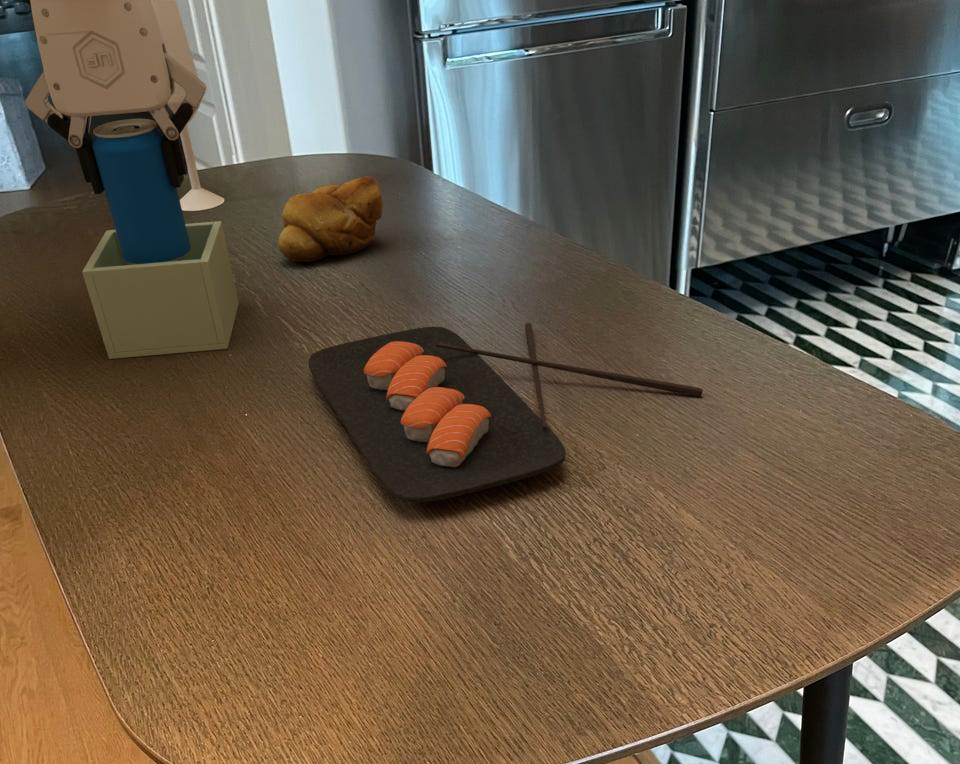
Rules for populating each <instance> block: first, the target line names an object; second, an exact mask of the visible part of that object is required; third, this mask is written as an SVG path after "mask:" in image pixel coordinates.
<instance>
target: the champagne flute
mask: <svg viewBox="0 0 960 764" xmlns="http://www.w3.org/2000/svg"><path fill="white" fill-rule="evenodd" d="M151 2H152V5H153V8H154V11H155V14H156V17H157V20H158V23H159V26H160V30H161V33H162V36H163V40H164V43H165V46H166V50H167V53H168V55H169V56H170V57H172V58H173V59H174V60H176V61H177V62H178V63H179V64H181V65H182V66H183V67H184V68H186V69H187V70H188V71H189V72H191V73H192V74H193V75H194V76H196V77H197V78H198V79H200V78H199V74H198V71H197V69H196V65H195V61H194V58H193V55H192V52H191V51H192V50H191V47H190V45H189V41H188V37H187V34H186V30H185V27H184V24H183V20H182V17H181V13H180V9H179V6H178V3H177V0H151ZM174 85H175V89H174V93H173V94H172V95H171V96H170V99H169V100H168V103H169V105H170V106H171V108H172V109H173V111H174V112H175V113H176V111H177V110H178V108H179V106H180V105H181V103H182V102H183V100H184V98H185V96H186V92H185V90H184V89H183V88H182V87H181V86H180V85H178V84H177V83H176V82H175V81H174ZM202 101H203V98H202V99H201V101H200V103H199V104H198V106H197V108H196V109H195V111H194V113H193V114H192V116H191V118H190V119H189V121H188V122H187V124H186V126H185V127H184V129H183V130H182V132H181V133H180V136H181V140H182V145H183V149H184V154H185V158H186V162H187V167H188V173H187V174H188V178H189V182H190V186H191V189H190V190H189V191H187V192H186V194H184V196H182V197H181V198H179V200H180V204H181V208H182V212H183V211H184V212H185V211H186V212H196V211H205V210H210V209H213V208H217V207H218V206H221V205H222V204H224V202H225V198H224V197H222V196H220V195H218V194H216V193H213V192H212V191H210V190H207V189H206V188H203V187H202V186H201V183H200V178H199V173H198V169H197V164H196V159H195V155H194V149H193V145H192V142H191V141H192V140H191V137H190V131H189V126H188V124H189V123H190V122H191V121H192V120H193V118H194V117H195V115H196V114H197V113H198V111H199V109H200V106H201V103H202Z"/></svg>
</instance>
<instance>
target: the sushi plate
mask: <svg viewBox="0 0 960 764" xmlns="http://www.w3.org/2000/svg"><path fill="white" fill-rule="evenodd" d="M524 327H525V330H524V331H525V334H526V335H525V336H526V341H527V346H528V352H529V356H530V358H528V357H527V358H526V357H522V356H516V355H510V354H505V353H499V352H493V351H487V350H481V349H476V348H472V346H470V345H469V343H467V342H466V341H465V340H464V339H463V338H462V337H461V336H460V335H458V333H456V332H454V331H453V330H451V329H449V328H446V327H442V326H423V327H417V328H411V329H405V330H401V331H396V332H395V331H394V332H390V333H386V334H381V335H377V336H372V337H367V338H363V339H358V340H353V341H349V342H345V343H340V344H336V345H333V346H332V345H331V346H329V347H325V348H322V349H320V350H317V351H316V352H314V353H312V354H311V355H310V356H309V358H308V368H309V371H310V373H311V375H312V377H313V379H314V380H315V382H316V384H317V385H318V387H319V388H320V390H321V391H322V393H323V395H324V396H325V398H326V399H327V401H328V402H329V404H330V406H331V408H332V409H333V410H334V412H335V414H336V415H337V417H338V418H339V420H340V421H341V423H342V425H343V427H345V429H346V431H347V433H348V434H349V436H350V438H351V439H352V440H353V442H354V443H355V445H356V446H357V448H358V450H359V451H360V453H361V455H362V456H363V458H364V459H365V461H366V462H367V464H368V465H369V467H370V469H371V470H372V472H373V473H374V475H375V476H376V478H377V479H378V480H379V482H380V483H381V485H382V486H383V487H384V488H385V489H386V490H387V491H388V493H389V494H390V495H392V497H394V498H396V499H398V500H400V501H402V502H405V503H412V504H417V503H419V504H421V503H430V502H436V501H442V500H446V499H451V498H455V497H459V496H463V495H468V494H472V493H476V492H481V491H483V490H484V491H485V490H487V489H491V488H495V487H499V486H502V485H506V484H511V483H514V482H518V481H521V480H525V479H528V478H531V477H535V476H538V475H541V474H544V473H547V472H549V471H552V470H554V469H556V468H557V467H559V466H560V465H562V464H563V463H564V462H565V461H566V456H567V453H566V449H565V446H564V444H563V442H562V441H561V439H559V437H558V436H557V435H556V434H555V432H554V431H553V430H552V429H551V428H550V427H549V426H548V425H547V419H546V413H545V407H544V400H543V394H542V388H541V387H542V386H541V380H540V374H539V368H538V367H544V368H549V369H554V370H560V371H563V372H569V373H575V374H579V375H585V376H589V377H594V378H599V379H603V380H610V381H614V382H619V383H623V384H630V385H634V386H639V387H643V388H644V387H645V388H650V389H653V390H654V389H655V390H659V391H664V392H665V391H666V392H670V393H675V394H680V395H686V396H691V395H692V397H696V396H701V395H703V391H704V389H703V388H701V387H696V386H691V385H687V384H681V383H674V382H669V381H663V380H657V379H651V378H645V377H640V376H634V375H628V374H622V373H616V372H609V371H604V370H597V369H592V368H586V367H584V368H583V367H580V366H574V365H569V364H562V363H556V362H549V361H544V360H538V359H537V352H536V346H535V339H534V333H533V327H532V323H530V322H528V323H525V324H524ZM481 356H485V357H490V358H491V357H492V358H496V359H502V360H507V361H511V362H517V363H523V364H528V365H531V369H532V373H533V379H534V385H535V391H536V397H537V403H538V409H539V415H540V417H539V415H537V413H536V412H534V410H532V408H531V407H530V406H529V405H528V404H527V403H526V402H525V401H524V400H523V399H522V398H521V397H520V396H519V395H518V393H516V392H515V390H513V388H512V387H511V386H510V385H508V383H507V382H506V381H504V380H503V379H502V377H501V376H500V375H499V374H498V373H497V372H496V371H495V370H494V369H493V368H492V367H491V366H490V365H489V364H488V363H487V361H485V360H484V359H483V358H482V357H481ZM701 397H702V396H701Z"/></svg>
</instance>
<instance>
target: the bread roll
mask: <svg viewBox="0 0 960 764" xmlns="http://www.w3.org/2000/svg"><path fill="white" fill-rule="evenodd" d="M383 203H384V202H383V198H382V193H381V189H380V187H379V185H378V183H377V181H376V179H375V178H374V177H372V176H362V177H358V178H353V179H350V180H348V181H346V182H344V183H343V184H342V185H341V186H340V185H338V184H329V185H325V186H319V187H317V188H316V189H315V190H314V191H313V192H305V193H299V194H296V195H293V196H291V197H290V198H289V199H288V201H287V202H286V204H285V205H284V208H283V209H282V213H281V216H282V219H281V220H282V224H283V230H282V231H281V233H280V234H279V236H278V241H277V242H278V243H277V244H278V249H279V252H280V253H281V254H282V256H283V257H284V258H286V259H287V260H289V261H292V262H315V261H319V260H322V259H324V258H326V257H327V256H329V255H331V256H343V255H344V256H345V255H352V254H354V253H357V252H359V251H361V250H364V249H366V248H368V246H370V245H372V242H373V240H374V239H375V235H376V226H377V221H379V220H380V219H381V218H382V216H383V206H384V205H383Z"/></svg>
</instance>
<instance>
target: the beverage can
mask: <svg viewBox="0 0 960 764" xmlns="http://www.w3.org/2000/svg"><path fill="white" fill-rule="evenodd" d="M92 133H93V135H94V138H93V139H94V141H93V144H92V148H93V152H94V155H95V159H96V162H97V166H98V170H99V173H100V177H101V180H102V184H103V187H104V191H103V192H104V194H105V198H106V201H107V204H108V209H109V212H110V215H111V219H112V223H113V226H114V230H116V233H117V237H118V241H119V244H120V248H121V251H122V255H123V258H124V260H125V261H126V262H128V263H131V264H133V265H136V264H148V263H160V262H172V261H183V260H184V259H185V255H187V254H188V253H189V252H190V250H191V246H190V242H189V238H188V234H187V229H186V225H185V224H186V221H185V217H184V213H183V210H182V208H181V204H180V196H179V192H178V188H174V186H171V182H170V178H169V174H168V169H167V165H166V161H165V157H164V153H163V149H162V141H163V140H164V137H163V132H161V131H160V130H159V129H158V124H157V122H156V121H155V120H153V119H147V118H129V119H128V118H127V119H121V120H115V121H111V122H106V123H103V124H100V125H97V126H96V127H94V129H92Z"/></svg>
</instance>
